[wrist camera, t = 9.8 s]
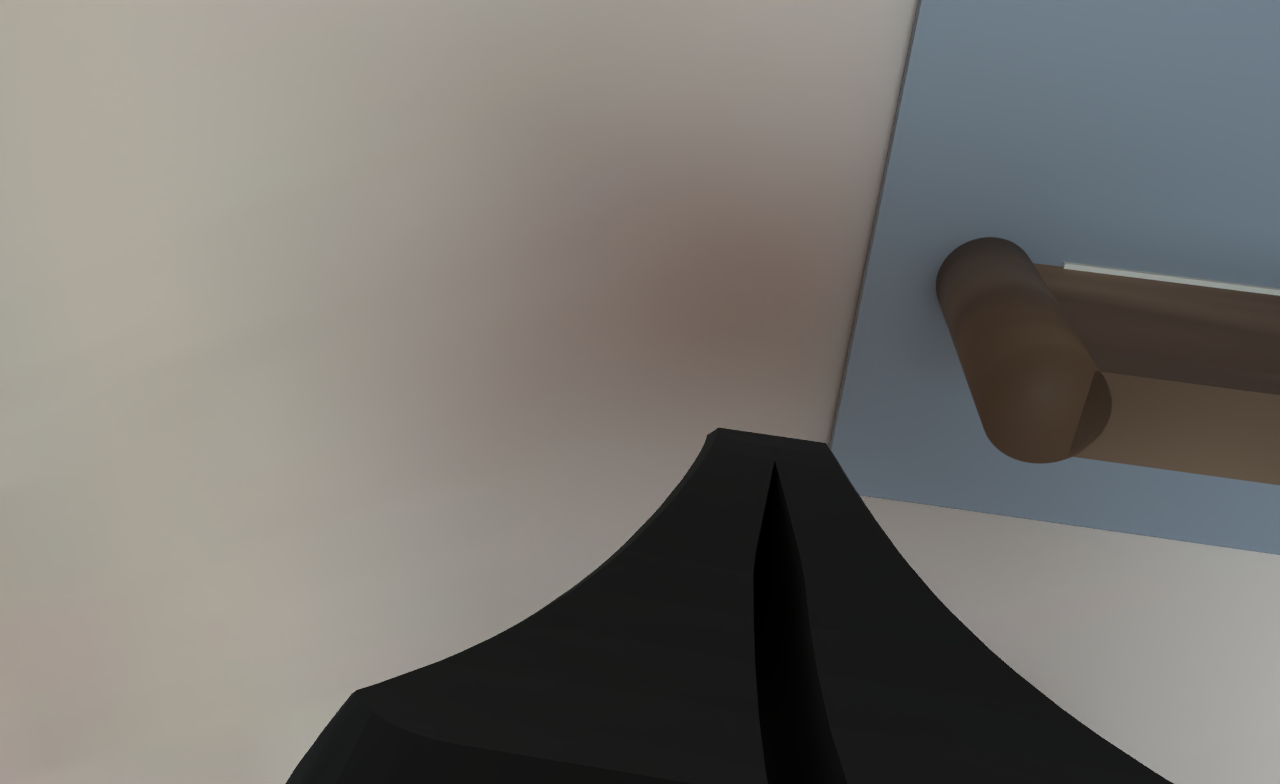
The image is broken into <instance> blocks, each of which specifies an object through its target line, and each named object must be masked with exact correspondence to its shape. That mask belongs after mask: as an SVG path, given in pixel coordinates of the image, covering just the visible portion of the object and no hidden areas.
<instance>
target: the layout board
mask: <svg viewBox="0 0 1280 784" xmlns="http://www.w3.org/2000/svg"><path fill="white" fill-rule="evenodd" d="M983 237H997V238H1002V239H1006V240H1009V241H1011V242H1013V243H1015V244H1016V245H1018V246H1019V247H1021V248H1022V249H1023V250H1024V251H1025V252H1026V254H1027V255H1028V256H1029V258H1030V259H1031V261H1032V263H1036V264H1044V265H1052V266H1060V267H1063V268H1064V269H1071V270H1079V271H1087V272H1095V273H1103V274H1111V275H1118V276H1126V277H1134V278H1142V279H1150V280H1158V281H1166V282H1174V283H1182V284H1190V285H1198V286H1206V287H1214V288H1222V289H1230V290H1238V291H1246V292H1254V293H1262V294H1270V295H1278V296H1280V0H918V5H917V10H916V15H915V20H914V25H913V30H912V35H911V40H910V45H909V50H908V55H907V60H906V65H905V70H904V75H903V80H902V85H901V90H900V95H899V100H898V105H897V110H896V115H895V120H894V125H893V130H892V135H891V140H890V145H889V150H888V155H887V160H886V165H885V170H884V175H883V180H882V185H881V190H880V195H879V200H878V205H877V210H876V215H875V220H874V225H873V230H872V235H871V240H870V245H869V250H868V255H867V260H866V265H865V270H864V275H863V280H862V285H861V290H860V296H859V301H858V306H857V311H856V316H855V321H854V326H853V331H852V336H851V341H850V346H849V351H848V356H847V361H846V366H845V371H844V376H843V381H842V386H841V391H840V396H839V401H838V406H837V411H836V416H835V421H834V426H833V431H832V436H831V441H830V446H829V448H830V450H831V451H832V453H833V454H834V456H835V457H836V459H837V460H838V462H839V464H840V465H841V467H842V469H843V470H844V472H845V474H846V475H847V477H848V479H849V480H850V482H851V483H852V485H853V487H854V488H855V490H856V491H857V493H858V494H859V495H863V496H870V497H877V498H884V499H891V500H898V501H905V502H912V503H919V504H926V505H933V506H940V507H947V508H954V509H961V510H968V511H975V512H982V513H989V514H996V515H1003V516H1010V517H1017V518H1024V519H1031V520H1038V521H1045V522H1052V523H1059V524H1066V525H1073V526H1081V527H1088V528H1095V529H1102V530H1109V531H1116V532H1123V533H1130V534H1137V535H1144V536H1151V537H1158V538H1165V539H1172V540H1179V541H1186V542H1193V543H1200V544H1207V545H1214V546H1221V547H1228V548H1235V549H1242V550H1249V551H1256V552H1263V553H1270V554H1277V555H1280V485H1273V484H1266V483H1259V482H1251V481H1244V480H1237V479H1230V478H1222V477H1215V476H1208V475H1201V474H1193V473H1186V472H1179V471H1172V470H1164V469H1157V468H1150V467H1143V466H1135V465H1128V464H1121V463H1114V462H1106V461H1099V460H1092V459H1085V458H1077V457H1071V458H1068V459H1065V460H1062V461H1058V462H1053V463H1045V464H1035V463H1027V462H1022V461H1019V460H1016V459H1013V458H1011V457H1009V456H1007V455H1005V454H1004V453H1002V452H1001V451H999V450H998V449H997V448H996V447H995V446H994V445H993V444H992V443H991V442H990V440H989V439H988V437H987V435H986V433H985V431H984V429H983V426H982V423H981V420H980V417H979V414H978V412H977V409H976V406H975V403H974V400H973V397H972V395H971V392H970V389H969V386H968V383H967V380H966V378H965V375H964V372H963V369H962V366H961V363H960V361H959V358H958V355H957V352H956V349H955V346H954V344H953V341H952V338H951V335H950V332H949V329H948V327H947V324H946V321H945V318H944V315H943V312H942V310H941V307H940V304H939V301H938V298H937V294H936V279H937V275H938V271H939V269H940V267H941V265H942V263H943V262H944V260H945V259H946V258H947V256H948V255H949V254H950V253H951V252H952V251H953V250H955V249H956V248H957V247H959V246H961V245H962V244H964V243H966V242H968V241H971V240H974V239H978V238H983Z"/></svg>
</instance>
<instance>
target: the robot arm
mask: <svg viewBox="0 0 1280 784" xmlns="http://www.w3.org/2000/svg"><path fill="white" fill-rule="evenodd" d="M286 784H1173V783H1172V782H1170V781H1168V780H1166V779H1165V778H1163V777H1162V776H1160V775H1158V774H1157V773H1155V772H1154V771H1152V770H1150V769H1149V768H1147V767H1146V766H1144V765H1143V764H1141V763H1140V762H1138V761H1137V760H1135V759H1134V758H1132V757H1131V756H1129V755H1128V754H1126V753H1125V752H1123V751H1122V750H1120V749H1119V748H1117V747H1116V746H1114V745H1113V744H1111V743H1110V742H1108V741H1107V740H1105V739H1104V738H1102V737H1100V736H1099V735H1098V734H1096V733H1095V732H1093V731H1092V730H1091V729H1089V728H1088V727H1086V726H1085V725H1084V724H1082V723H1081V722H1079V721H1078V720H1077V719H1075V718H1074V717H1073V716H1071V715H1070V714H1068V713H1067V712H1066V711H1064V710H1063V709H1062V708H1060V707H1059V706H1058V705H1056V704H1055V703H1054V702H1053V701H1051V700H1050V699H1049V698H1048V697H1046V696H1045V695H1044V694H1043V693H1041V692H1040V691H1039V690H1038V689H1036V688H1035V687H1034V686H1033V685H1031V684H1030V683H1029V682H1028V681H1026V680H1025V679H1024V678H1023V677H1021V676H1020V675H1019V674H1018V673H1016V672H1015V671H1014V670H1013V669H1012V668H1010V667H1009V666H1008V665H1007V664H1006V663H1005V662H1004V661H1002V660H1001V659H1000V658H999V657H998V656H997V655H996V654H994V653H993V652H992V651H991V650H990V649H989V648H988V647H987V646H986V645H985V644H984V643H983V642H982V641H981V640H979V639H978V638H977V637H976V636H975V635H974V634H973V633H972V632H971V631H970V630H969V629H968V628H967V627H966V626H965V625H964V624H963V623H962V622H961V621H960V620H959V619H958V618H957V617H956V616H955V615H954V614H953V613H952V612H951V611H950V610H949V609H948V608H947V607H946V606H945V605H944V604H943V603H942V602H941V601H940V600H939V599H938V598H937V597H936V595H935V594H934V593H933V592H932V591H931V590H930V589H929V588H928V586H927V585H926V584H925V583H924V582H923V580H922V579H921V578H920V577H919V576H918V575H917V573H916V572H915V571H914V570H913V569H912V568H911V566H910V565H909V564H908V563H907V562H906V560H905V559H904V558H903V557H902V555H901V554H900V553H899V551H898V550H897V549H896V547H895V546H894V545H893V543H892V542H891V540H890V539H889V538H888V536H887V535H886V534H885V532H884V531H883V529H882V528H881V527H880V525H879V524H878V523H877V521H876V520H875V518H874V517H873V515H872V514H871V512H870V511H869V510H868V508H867V507H866V505H865V504H864V502H863V500H862V499H861V497H860V496H859V494H858V493H857V491H856V490H855V488H854V487H853V485H852V483H851V482H850V480H849V479H848V477H847V475H846V474H845V472H844V470H843V469H842V467H841V465H840V464H839V462H838V460H837V459H836V457H835V456H834V454H833V453H832V451H831V450H830V448H829V447H828V446H827V444H826V443H821V442H814V441H807V440H800V439H793V438H786V437H779V436H772V435H766V434H759V433H752V432H745V431H738V430H731V429H724V428H717V429H716V430H714V431H713V432H711V433H710V434H708V435H707V438H706V441H705V444H704V446H703V448H702V450H701V452H700V453H699V455H698V457H697V458H696V460H695V462H694V463H693V465H692V466H691V467H690V469H689V470H688V472H687V473H686V475H685V476H684V478H683V479H682V480H681V482H680V483H679V484H678V485H677V486H676V488H675V489H674V490H673V491H672V493H671V494H670V495H669V496H668V498H667V499H666V500H665V501H664V503H663V504H662V505H661V506H660V508H659V509H658V510H657V511H656V512H655V513H654V514H653V515H652V516H651V517H650V518H649V519H648V520H647V522H646V523H645V524H644V525H643V526H642V527H641V528H640V529H639V530H638V531H637V532H636V533H635V534H634V535H633V536H632V537H631V538H630V539H629V540H628V541H627V542H626V543H625V544H624V545H623V546H622V547H621V548H620V549H619V550H618V551H616V552H615V553H614V554H613V555H612V556H611V557H610V558H609V559H608V560H606V561H605V562H604V563H603V564H602V565H601V566H599V567H598V568H597V569H596V570H595V571H593V572H592V573H591V574H589V575H588V576H587V577H586V578H584V579H583V580H582V581H581V582H579V583H578V584H577V585H575V586H574V587H573V588H571V589H570V590H569V591H567V592H566V593H564V594H563V595H561V596H560V597H558V598H557V599H555V600H554V601H552V602H551V603H550V604H548V605H547V606H545V607H544V608H542V609H541V610H539V611H538V612H536V613H535V614H533V615H531V616H530V617H528V618H527V619H525V620H523V621H522V622H520V623H518V624H517V625H515V626H513V627H511V628H509V629H508V630H506V631H504V632H502V633H500V634H498V635H496V636H494V637H492V638H490V639H488V640H486V641H484V642H482V643H479V644H477V645H475V646H473V647H471V648H469V649H467V650H464V651H462V652H460V653H458V654H455V655H453V656H451V657H448V658H446V659H444V660H441V661H439V662H436V663H433V664H431V665H428V666H425V667H422V668H420V669H417V670H414V671H411V672H408V673H406V674H403V675H400V676H397V677H395V678H392V679H389V680H386V681H384V682H381V683H378V684H375V685H372V686H369V687H366V688H362V689H359V690H356V691H355V692H354V693H352V694H351V696H350V697H349V698H348V699H347V701H346V702H345V703H344V704H343V706H342V707H341V708H340V709H339V711H338V712H337V713H336V715H335V716H334V717H333V718H332V720H331V721H330V722H329V724H328V725H327V726H326V727H325V729H324V730H323V731H322V733H321V734H320V735H319V737H318V738H317V740H316V741H315V742H314V744H313V745H312V747H311V748H310V749H309V750H308V752H307V753H306V754H305V756H304V757H303V758H302V760H301V761H300V762H299V764H298V765H297V767H296V768H295V770H294V771H293V773H292V774H291V776H290V778H289V779H288V781H287V782H286Z"/></svg>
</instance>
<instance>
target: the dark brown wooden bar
mask: <svg viewBox="0 0 1280 784" xmlns="http://www.w3.org/2000/svg"><path fill="white" fill-rule="evenodd" d="M936 294H937V298H938V301H939V304H940V307H941V310H942V312H943V315H944V318H945V321H946V324H947V327H948V329H949V332H950V335H951V338H952V341H953V344H954V346H955V349H956V352H957V355H958V358H959V361H960V363H961V366H962V369H963V372H964V375H965V378H966V380H967V383H968V386H969V389H970V392H971V395H972V397H973V400H974V403H975V406H976V409H977V412H978V414H979V417H980V420H981V423H982V426H983V429H984V431H985V433H986V435H987V437H988V439H989V440H990V442H991V443H992V444H993V445H994V446H995V447H996V448H997V449H998V450H999V451H1001V452H1002V453H1004V454H1005V455H1007V456H1009V457H1011V458H1013V459H1016V460H1019V461H1022V462H1027V463H1035V464H1045V463H1053V462H1058V461H1062V460H1065V459H1068V458H1071V457H1077V458H1085V459H1092V460H1099V461H1106V462H1114V463H1121V464H1128V465H1135V466H1143V467H1150V468H1157V469H1164V470H1172V471H1179V472H1186V473H1193V474H1201V475H1208V476H1215V477H1222V478H1230V479H1237V480H1244V481H1251V482H1259V483H1266V484H1273V485H1280V296H1278V295H1270V294H1262V293H1254V292H1246V291H1238V290H1230V289H1222V288H1214V287H1206V286H1198V285H1190V284H1182V283H1174V282H1166V281H1158V280H1150V279H1142V278H1134V277H1126V276H1118V275H1111V274H1103V273H1095V272H1087V271H1079V270H1071V269H1064V268H1063V267H1060V266H1052V265H1044V264H1036V263H1032V261H1031V259H1030V258H1029V256H1028V255H1027V254H1026V252H1025V251H1024V250H1023V249H1022V248H1021V247H1019V246H1018V245H1016V244H1015V243H1013V242H1011V241H1009V240H1006V239H1002V238H997V237H983V238H978V239H974V240H971V241H968V242H966V243H964V244H962V245H961V246H959V247H957V248H956V249H955V250H953V251H952V252H951V253H950V254H949V255H948V256H947V258H946V259H945V260H944V262H943V263H942V265H941V267H940V269H939V271H938V275H937V279H936Z"/></svg>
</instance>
